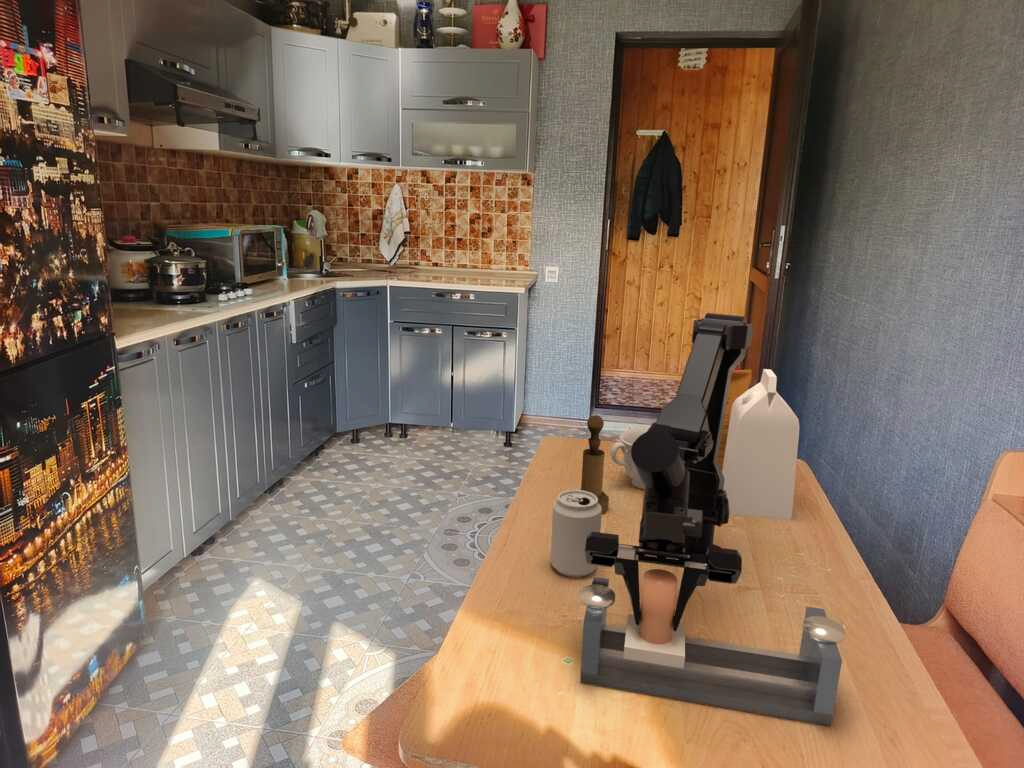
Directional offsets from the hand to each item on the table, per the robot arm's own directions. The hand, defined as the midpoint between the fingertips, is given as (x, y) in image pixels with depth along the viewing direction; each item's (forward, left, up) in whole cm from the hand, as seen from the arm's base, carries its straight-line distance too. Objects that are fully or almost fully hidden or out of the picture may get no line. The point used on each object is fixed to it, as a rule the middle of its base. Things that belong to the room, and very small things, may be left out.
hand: (656, 627), depth 83 cm
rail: (-4, +4, -7) cm, 9 cm away
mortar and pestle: (-32, -35, -7) cm, 48 cm away
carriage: (-1, -1, -3) cm, 4 cm away
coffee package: (-70, -31, -7) cm, 77 cm away
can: (-13, -23, -7) cm, 27 cm away
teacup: (-48, -35, -7) cm, 60 cm away
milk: (-57, -15, -7) cm, 59 cm away
